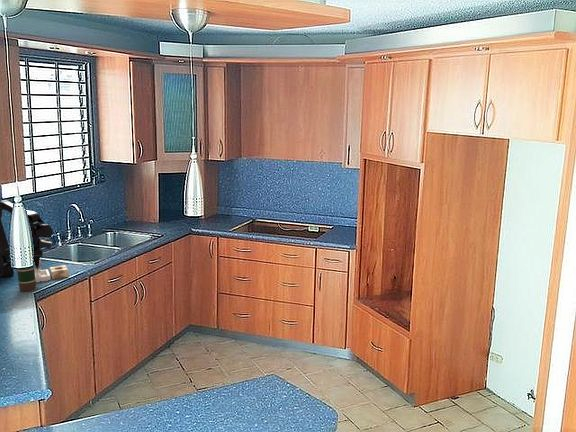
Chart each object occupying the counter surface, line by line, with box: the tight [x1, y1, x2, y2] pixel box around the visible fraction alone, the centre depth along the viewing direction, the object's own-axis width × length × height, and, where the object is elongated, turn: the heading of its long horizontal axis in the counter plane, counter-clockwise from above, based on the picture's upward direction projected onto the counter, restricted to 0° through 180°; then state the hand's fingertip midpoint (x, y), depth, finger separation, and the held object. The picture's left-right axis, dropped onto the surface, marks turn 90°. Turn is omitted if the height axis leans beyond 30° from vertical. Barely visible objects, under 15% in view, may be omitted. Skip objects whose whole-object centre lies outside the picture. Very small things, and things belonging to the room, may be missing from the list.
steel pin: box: [34, 259, 43, 277], centre depth 305 cm, size 4×4×9 cm
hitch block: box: [49, 264, 69, 280], centre depth 310 cm, size 8×10×4 cm
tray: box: [35, 269, 52, 283], centre depth 305 cm, size 11×14×2 cm
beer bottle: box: [16, 266, 37, 293], centre depth 285 cm, size 8×8×24 cm
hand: (36, 265), depth 304 cm, fingers open, 9 cm apart
